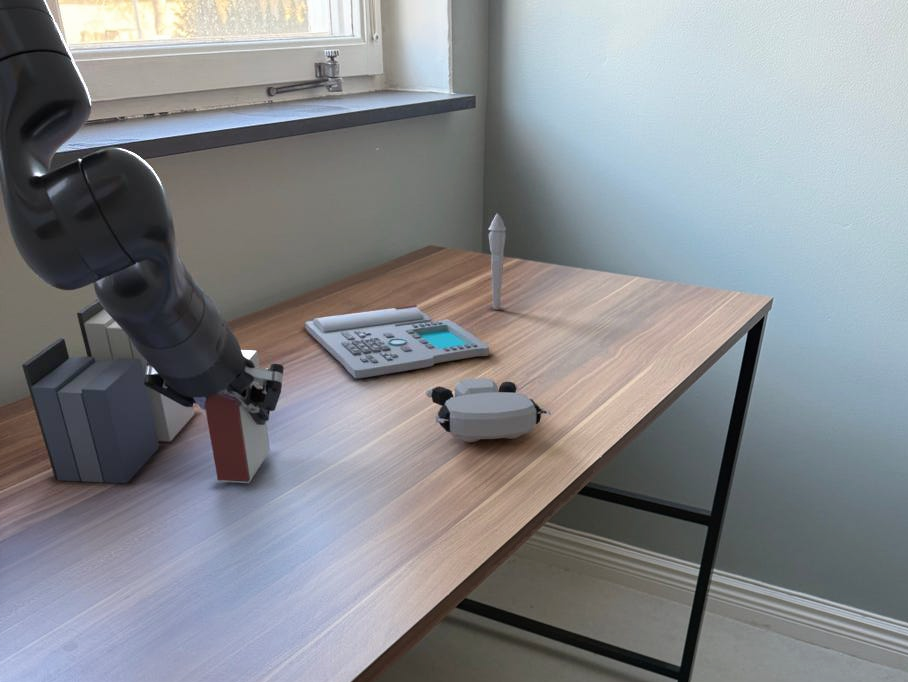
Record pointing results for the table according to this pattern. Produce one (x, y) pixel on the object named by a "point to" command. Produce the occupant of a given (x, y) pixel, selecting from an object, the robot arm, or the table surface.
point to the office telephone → (393, 340)
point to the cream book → (236, 436)
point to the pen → (497, 257)
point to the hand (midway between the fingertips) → (244, 415)
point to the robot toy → (485, 410)
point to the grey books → (91, 414)
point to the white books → (114, 343)
